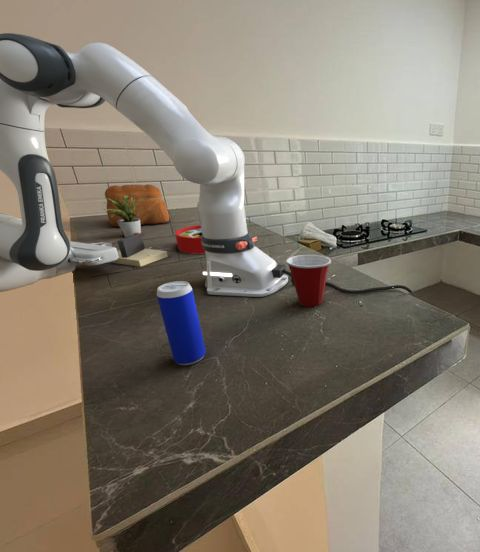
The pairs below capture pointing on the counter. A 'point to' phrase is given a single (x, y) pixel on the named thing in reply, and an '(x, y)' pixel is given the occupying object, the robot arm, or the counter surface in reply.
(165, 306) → the beverage can
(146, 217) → the bread
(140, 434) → the counter surface
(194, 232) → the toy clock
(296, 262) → the plastic cup
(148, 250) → the panel
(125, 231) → the house plant
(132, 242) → the dark grey flat block
